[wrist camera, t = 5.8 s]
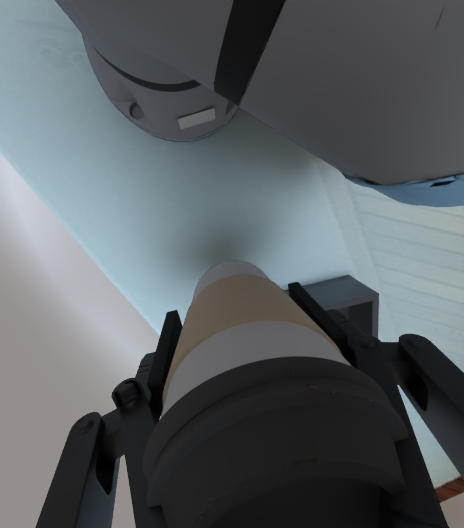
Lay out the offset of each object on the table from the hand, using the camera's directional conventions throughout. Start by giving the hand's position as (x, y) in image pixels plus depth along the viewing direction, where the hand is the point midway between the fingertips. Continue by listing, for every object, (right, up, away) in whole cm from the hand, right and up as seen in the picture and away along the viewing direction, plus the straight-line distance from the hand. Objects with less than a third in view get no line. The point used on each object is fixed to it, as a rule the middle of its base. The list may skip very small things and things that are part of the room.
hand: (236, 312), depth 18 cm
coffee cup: (0, +1, +2) cm, 3 cm away
